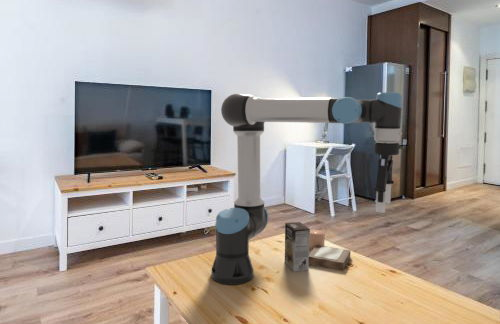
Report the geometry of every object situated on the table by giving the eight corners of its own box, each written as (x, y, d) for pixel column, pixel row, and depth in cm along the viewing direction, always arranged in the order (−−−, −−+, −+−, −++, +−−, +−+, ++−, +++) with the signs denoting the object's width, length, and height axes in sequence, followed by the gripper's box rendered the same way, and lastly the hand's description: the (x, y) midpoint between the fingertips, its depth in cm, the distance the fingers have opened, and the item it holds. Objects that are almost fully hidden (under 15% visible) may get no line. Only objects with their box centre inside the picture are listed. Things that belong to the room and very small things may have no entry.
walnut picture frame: (306, 263, 139) (307, 255, 139) (316, 251, 152) (316, 244, 151) (343, 270, 133) (343, 262, 133) (350, 257, 146) (350, 249, 145)
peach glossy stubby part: (305, 249, 154) (306, 233, 153) (310, 244, 160) (310, 229, 160) (321, 252, 151) (322, 236, 150) (325, 247, 157) (326, 231, 157)
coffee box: (283, 262, 140) (284, 222, 138) (298, 260, 142) (299, 221, 140) (293, 272, 132) (294, 229, 130) (309, 270, 134) (310, 228, 132)
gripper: (395, 145, 101) (390, 218, 103) (403, 140, 123) (399, 200, 125) (367, 144, 104) (364, 214, 107) (380, 139, 126) (376, 198, 129)
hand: (383, 207), depth 116 cm, fingers open, 13 cm apart
